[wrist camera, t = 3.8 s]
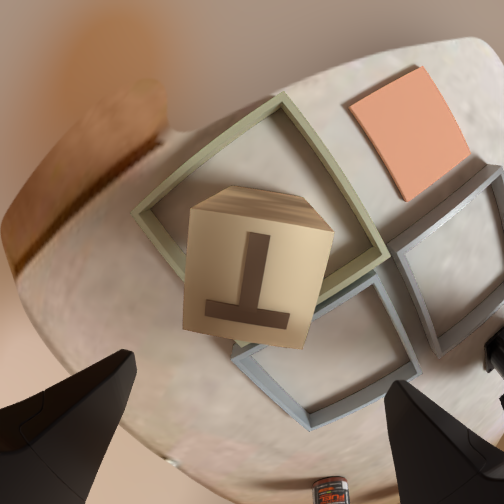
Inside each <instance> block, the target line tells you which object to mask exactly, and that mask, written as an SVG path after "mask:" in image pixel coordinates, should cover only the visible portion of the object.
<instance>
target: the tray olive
mask: <svg viewBox="0 0 504 504" xmlns="http://www.w3.org/2000/svg"><path fill="white" fill-rule="evenodd" d="M280 108H282V109H283V111H284V112H285V113H286V114H287V116H288V117H289V118H290V120H291V121H292V122H293V123H294V125H295V126H296V127H297V129H298V130H299V131H300V133H301V134H302V135H303V137H304V138H305V140H306V141H307V142H308V144H309V145H310V147H311V148H312V149H313V151H314V152H315V154H316V155H317V156H318V158H319V159H320V161H321V162H322V164H323V165H324V167H325V168H326V170H327V171H328V173H329V174H330V176H331V177H332V179H333V180H334V182H335V183H336V185H337V186H338V188H339V189H340V191H341V193H342V194H343V196H344V197H345V199H346V201H347V202H348V204H349V205H350V207H351V209H352V210H353V212H354V214H355V215H356V217H357V219H358V221H359V222H360V224H361V226H362V227H363V229H364V231H365V233H366V234H367V236H368V238H369V240H370V242H371V243H372V245H373V247H371V248H370V249H368V250H367V251H365V252H364V253H363V254H361V255H360V256H358V257H357V258H355V259H354V260H352V261H351V262H349V263H348V264H346V265H345V266H343V267H342V268H340V269H339V270H337V271H336V272H334V273H332V274H331V275H329V276H328V277H326V278H325V279H323V282H322V285H321V289H320V293H319V296H318V300H317V303H316V305H318V304H320V303H321V302H323V301H324V300H326V299H328V298H329V297H331V296H332V295H334V294H336V293H337V292H339V291H340V290H342V289H343V288H345V287H347V286H348V285H350V284H351V283H353V282H354V281H356V280H357V279H359V278H360V277H362V276H363V275H365V274H366V273H368V272H369V271H371V270H372V269H374V268H375V267H377V266H378V265H379V264H381V263H382V262H384V261H385V260H387V259H388V258H389V257H391V255H390V253H389V251H388V249H387V248H386V246H385V244H384V242H383V240H382V238H381V236H380V234H379V232H378V230H377V229H376V227H375V225H374V223H373V221H372V220H371V218H370V216H369V214H368V212H367V211H366V209H365V207H364V206H363V204H362V202H361V200H360V199H359V197H358V195H357V194H356V192H355V190H354V189H353V187H352V186H351V184H350V182H349V181H348V179H347V178H346V176H345V174H344V173H343V171H342V170H341V168H340V167H339V165H338V164H337V162H336V161H335V159H334V158H333V156H332V155H331V153H330V152H329V150H328V149H327V147H326V146H325V145H324V143H323V142H322V140H321V139H320V138H319V136H318V135H317V133H316V132H315V131H314V129H313V128H312V127H311V125H310V124H309V122H308V121H307V120H306V118H305V117H304V116H303V115H302V113H301V112H300V111H299V109H298V108H297V107H296V106H295V104H294V103H293V102H292V101H291V99H290V98H289V97H288V96H287V94H286V93H285V92H284V91H283V92H281V93H280V94H278V95H277V96H275V97H273V98H272V99H270V100H269V101H267V102H266V103H264V104H263V105H261V106H260V107H258V108H257V109H255V110H254V111H253V112H251V113H250V114H248V115H247V116H245V117H244V118H243V119H241V120H240V121H238V122H237V123H236V124H234V125H233V126H231V127H230V128H229V129H227V130H226V131H225V132H223V133H222V134H221V135H219V136H218V137H217V138H215V139H214V140H213V141H212V142H210V143H209V144H208V145H206V146H205V147H204V148H203V149H201V150H200V151H199V152H198V153H196V154H195V155H194V156H193V157H191V158H190V159H189V160H188V161H187V162H185V163H184V164H183V165H182V166H181V167H179V168H178V169H177V170H176V171H175V172H174V173H172V174H171V175H170V176H169V177H168V178H167V179H166V180H164V181H163V182H162V183H161V184H160V185H159V186H158V187H157V188H155V189H154V190H153V191H152V192H151V193H150V194H149V195H148V196H147V197H146V198H145V199H144V200H142V201H141V202H140V203H139V204H138V205H137V206H136V207H135V208H134V209H133V210H132V211H131V212H130V214H131V215H132V217H133V218H134V219H135V221H136V222H137V224H138V225H139V226H140V228H141V229H142V230H143V232H144V233H145V234H146V236H147V237H148V238H149V239H150V241H151V242H152V243H153V245H154V246H155V247H156V249H157V250H158V251H159V252H160V254H161V255H162V256H163V257H164V259H165V260H166V261H167V262H168V264H169V265H170V266H171V267H172V269H173V270H174V271H175V272H176V274H177V275H178V276H179V277H180V279H181V280H182V281H183V282H184V283H185V266H186V255H185V254H184V253H183V252H182V250H181V249H180V248H179V246H178V245H177V244H176V243H175V241H174V240H173V239H172V237H171V236H170V235H169V234H168V232H167V231H166V230H165V228H164V227H163V226H162V224H161V223H160V222H159V220H158V219H157V218H156V216H155V215H154V214H153V212H152V211H151V210H150V209H151V208H152V207H153V206H154V205H155V204H156V203H157V202H158V201H159V200H161V199H162V198H163V197H164V196H165V195H166V194H167V193H169V192H170V191H171V190H172V189H173V188H174V187H176V186H177V185H178V184H179V183H180V182H182V181H183V180H184V179H185V178H186V177H188V176H189V175H190V174H191V173H192V172H194V171H195V170H196V169H197V168H199V167H200V166H201V165H202V164H204V163H205V162H206V161H207V160H209V159H210V158H211V157H212V156H214V155H215V154H216V153H218V152H219V151H220V150H222V149H223V148H224V147H226V146H227V145H228V144H230V143H231V142H232V141H234V140H235V139H236V138H238V137H239V136H240V135H242V134H243V133H245V132H246V131H247V130H249V129H250V128H252V127H253V126H255V125H256V124H257V123H259V122H260V121H262V120H263V119H265V118H266V117H268V116H269V115H271V114H272V113H274V112H275V111H277V110H278V109H280ZM234 341H235V342H236V343H237V344H238V345H239V346H240V347H241V348H242V347H244V346H246V345H248V344H250V343H251V342H245V341H239V340H234Z"/></svg>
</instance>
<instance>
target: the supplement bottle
mask: <svg viewBox="0 0 504 504" xmlns="http://www.w3.org/2000/svg"><path fill="white" fill-rule="evenodd" d="M312 488H313V489H312V491H313V504H350V499H349V491H348V483H347V480H346V479H345V478H343V477H330V478H325V479H322V480H319V481H317V482H316V483H314V484H313V487H312Z"/></svg>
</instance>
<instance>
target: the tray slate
mask: <svg viewBox="0 0 504 504" xmlns="http://www.w3.org/2000/svg"><path fill="white" fill-rule="evenodd" d="M371 284H372V285H373V286H374V288H375V290H376V292H377V294H378V296H379V298H380V299H381V301H382V303H383V305H384V307H385V309H386V311H387V313H388V315H389V317H390V319H391V321H392V323H393V325H394V327H395V329H396V331H397V333H398V335H399V337H400V339H401V341H402V344H403V346H404V348H405V350H406V352H407V354H408V357H409V359H410V362H408V363H407V364H405V365H404V366H402V367H400V368H399V369H397V370H396V371H394V372H392V373H391V374H389V375H387V376H386V377H384V378H382V379H380V380H379V381H377V382H375V383H373V384H371V385H370V386H368V387H366V388H364V389H362V390H360V391H358V392H357V393H355V394H353V395H351V396H349V397H347V398H345V399H343V400H340V401H338V402H336V403H334V404H332V405H330V406H328V407H325V408H323V409H321V410H319V411H316V412H314V413H312V414H309V413H308V412H307V411H306V410H304V409H303V408H302V407H301V406H300V405H299V404H298V403H297V402H296V401H295V400H294V399H293V398H292V397H291V396H290V395H289V394H288V393H287V392H286V391H285V390H284V389H283V388H282V387H281V386H280V385H279V384H278V383H277V382H276V381H275V380H274V379H273V378H272V377H271V376H270V375H269V374H268V373H267V372H266V371H265V370H264V369H263V368H262V367H261V366H260V365H259V364H258V363H257V362H256V361H255V360H254V359H253V358H252V357H251V356H250V355H252V354H254V353H256V352H258V351H260V350H262V349H264V348H266V347H267V346H269V345H264V344H258V343H250V344H248V345H246V346H244V347H242V348H241V347H240V346H239V345H238V344H237V343H236V344H234V345H233V349H232V354H231V359H230V360H231V361H232V362H233V363H234V364H235V365H236V366H237V367H238V368H239V369H240V370H241V371H242V372H243V373H244V374H245V375H247V376H248V377H249V378H250V379H251V380H252V381H253V382H254V383H255V384H256V385H257V386H258V387H259V388H260V389H261V390H262V391H263V392H264V393H265V394H267V395H268V396H269V397H270V398H271V399H272V400H273V401H274V402H275V403H276V404H278V405H279V406H280V407H281V408H282V409H283V410H284V411H285V412H287V413H288V414H289V415H290V416H291V417H292V418H293V419H295V420H296V421H297V422H298V423H299V424H300V425H302V426H303V427H304V428H305V429H306V430H308V431H309V432H310V431H312V430H315V429H317V428H320V427H322V426H325V425H327V424H329V423H332V422H334V421H336V420H339V419H341V418H343V417H345V416H347V415H350V414H352V413H354V412H356V411H358V410H360V409H362V408H364V407H366V406H368V405H370V404H372V403H374V402H376V401H377V400H379V399H381V398H383V397H385V395H386V393H387V391H388V390H389V388H390V386H391V384H392V383H393V382H394V381H395V380H406V381H407V382H410V381H412V380H413V379H415V378H416V377H418V376H420V375H421V374H423V372H422V370H421V367H420V365H419V362H418V360H417V357H416V355H415V353H414V350H413V348H412V346H411V343H410V341H409V339H408V336H407V334H406V332H405V330H404V328H403V325H402V323H401V321H400V319H399V317H398V315H397V313H396V310H395V308H394V306H393V304H392V302H391V300H390V298H389V296H388V294H387V292H386V290H385V288H384V286H383V284H382V283H381V281H380V279H379V277H378V275H377V273H376V272H375V271H374V270H373V269H372V270H371V271H369V272H368V273H366V274H365V275H363V276H362V277H360V278H359V279H357V280H356V281H354V282H353V283H351V284H350V285H348V286H347V287H345V288H343V289H342V290H340V291H339V292H337V293H336V294H334V295H332V296H331V297H329V298H328V299H326V300H324V301H323V302H321V303H320V304H318V305H316V307H315V310H314V314H313V317H312V320H311V322H312V321H314V320H316V319H318V318H319V317H321V316H323V315H324V314H326V313H328V312H329V311H331V310H333V309H334V308H336V307H337V306H339V305H341V304H342V303H344V302H345V301H347V300H349V299H350V298H352V297H353V296H355V295H356V294H358V293H359V292H361V291H362V290H364V289H365V288H367V287H369V286H370V285H371Z"/></svg>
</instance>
